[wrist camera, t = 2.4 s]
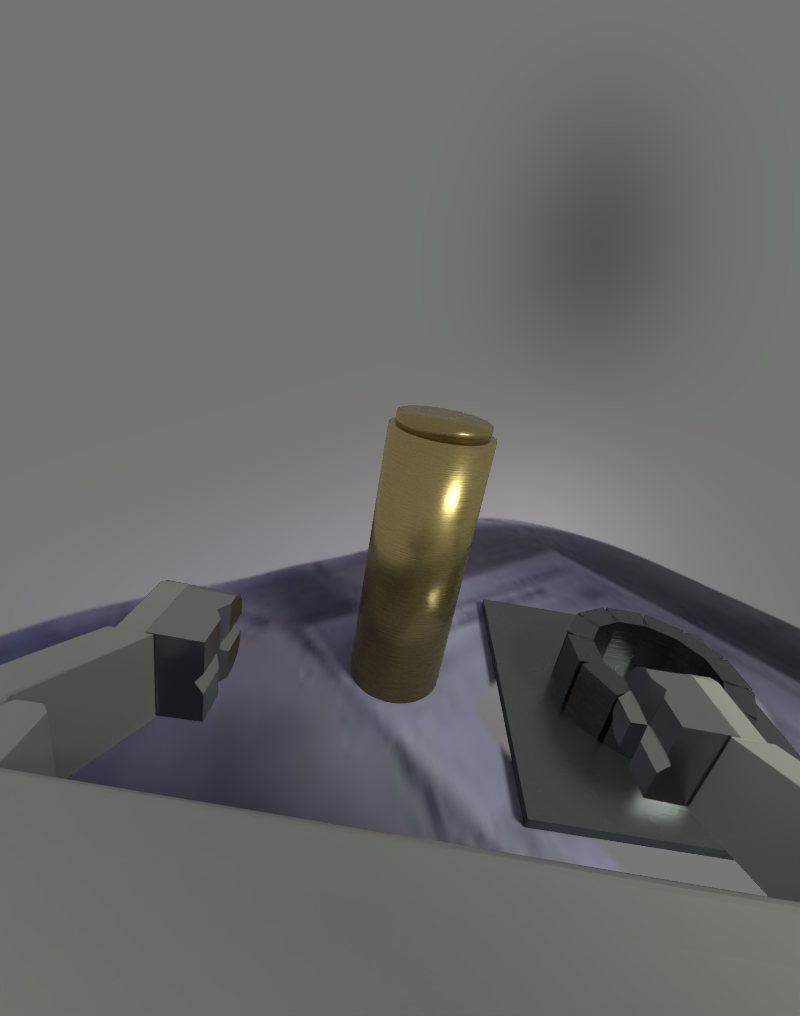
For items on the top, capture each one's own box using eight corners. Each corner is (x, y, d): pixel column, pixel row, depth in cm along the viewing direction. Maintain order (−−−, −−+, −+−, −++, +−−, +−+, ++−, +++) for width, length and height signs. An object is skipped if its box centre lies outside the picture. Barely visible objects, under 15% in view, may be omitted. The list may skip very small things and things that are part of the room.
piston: (436, 647, 29) (492, 415, 23) (438, 710, 24) (509, 441, 19) (356, 633, 29) (393, 398, 23) (344, 694, 24) (386, 420, 19)
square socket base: (695, 640, 34) (715, 601, 33) (897, 886, 20) (948, 833, 18) (481, 605, 34) (493, 563, 33) (525, 826, 19) (549, 769, 18)
